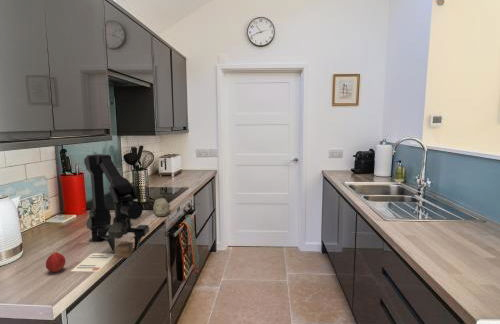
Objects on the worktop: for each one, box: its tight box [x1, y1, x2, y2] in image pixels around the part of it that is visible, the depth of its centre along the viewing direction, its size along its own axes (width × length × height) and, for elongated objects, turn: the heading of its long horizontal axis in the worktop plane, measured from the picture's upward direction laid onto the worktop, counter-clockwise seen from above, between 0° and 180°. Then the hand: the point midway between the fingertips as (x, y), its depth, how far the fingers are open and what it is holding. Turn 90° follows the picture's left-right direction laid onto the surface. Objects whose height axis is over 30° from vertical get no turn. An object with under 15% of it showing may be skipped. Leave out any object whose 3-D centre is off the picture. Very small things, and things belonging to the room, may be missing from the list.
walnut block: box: [114, 241, 134, 259], centre depth 113 cm, size 5×5×5 cm
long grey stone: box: [152, 197, 171, 217], centre depth 177 cm, size 35×5×10 cm
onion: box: [45, 250, 66, 273], centre depth 100 cm, size 6×6×8 cm
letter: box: [70, 253, 116, 273], centre depth 107 cm, size 14×10×1 cm
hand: (124, 250), depth 113 cm, fingers open, 9 cm apart
